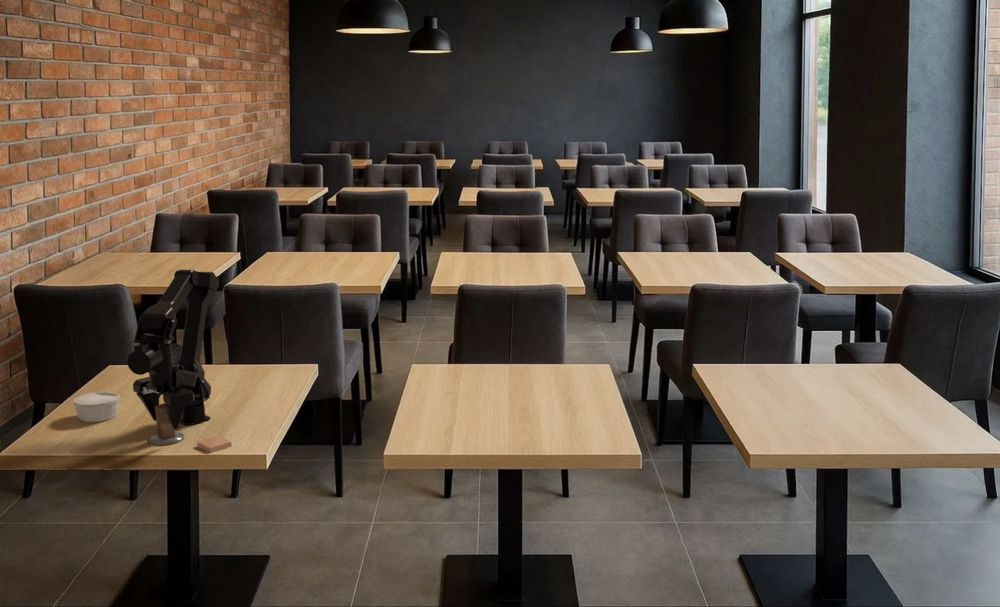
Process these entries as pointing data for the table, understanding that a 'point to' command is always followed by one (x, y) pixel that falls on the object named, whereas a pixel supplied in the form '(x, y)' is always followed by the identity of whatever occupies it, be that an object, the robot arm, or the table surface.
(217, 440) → the tile
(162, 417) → the block
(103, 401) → the ramekin
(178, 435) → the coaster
